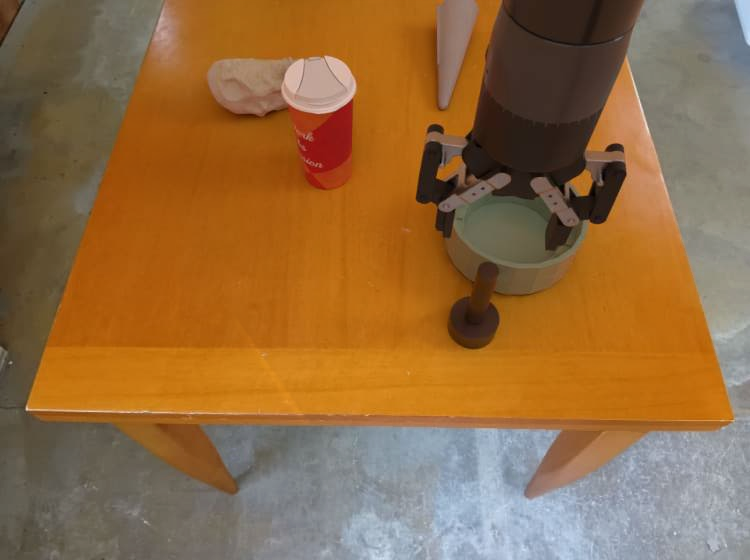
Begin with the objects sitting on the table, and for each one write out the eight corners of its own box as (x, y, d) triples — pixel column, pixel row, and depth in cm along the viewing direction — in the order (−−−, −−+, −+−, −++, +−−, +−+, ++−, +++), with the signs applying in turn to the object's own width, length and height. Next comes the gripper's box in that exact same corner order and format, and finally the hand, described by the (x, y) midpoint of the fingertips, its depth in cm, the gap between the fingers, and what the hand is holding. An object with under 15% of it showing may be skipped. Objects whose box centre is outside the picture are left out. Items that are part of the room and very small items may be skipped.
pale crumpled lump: (199, 121, 82) (226, 114, 69) (192, 67, 80) (218, 49, 67) (298, 117, 89) (340, 110, 76) (294, 68, 87) (336, 52, 74)
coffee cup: (293, 153, 76) (276, 56, 63) (354, 145, 77) (349, 47, 64) (300, 201, 71) (283, 107, 59) (365, 192, 72) (362, 97, 59)
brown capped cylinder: (505, 331, 62) (529, 275, 52) (469, 358, 60) (486, 304, 50) (473, 298, 64) (490, 238, 54) (437, 322, 62) (448, 265, 53)
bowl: (599, 253, 67) (617, 221, 62) (504, 321, 62) (516, 293, 57) (510, 175, 74) (519, 141, 68) (417, 231, 69) (421, 199, 64)
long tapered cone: (484, 90, 76) (479, -7, 84) (436, 94, 77) (436, -3, 85) (483, 120, 81) (478, 26, 90) (438, 123, 82) (437, 29, 90)
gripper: (421, 106, 33) (408, 262, 46) (678, 132, 31) (586, 284, 45) (434, 26, 36) (418, 192, 50) (663, 46, 35) (582, 211, 49)
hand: (498, 235), depth 48 cm, fingers open, 8 cm apart
